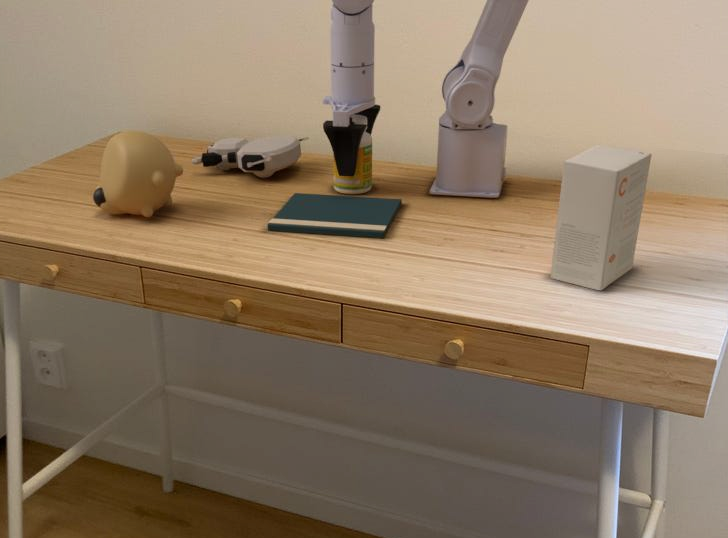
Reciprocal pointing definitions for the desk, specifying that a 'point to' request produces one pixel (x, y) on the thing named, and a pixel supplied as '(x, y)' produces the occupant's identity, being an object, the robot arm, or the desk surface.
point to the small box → (599, 215)
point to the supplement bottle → (363, 169)
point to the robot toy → (253, 154)
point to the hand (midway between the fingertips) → (352, 167)
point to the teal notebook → (336, 215)
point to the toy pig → (136, 175)
